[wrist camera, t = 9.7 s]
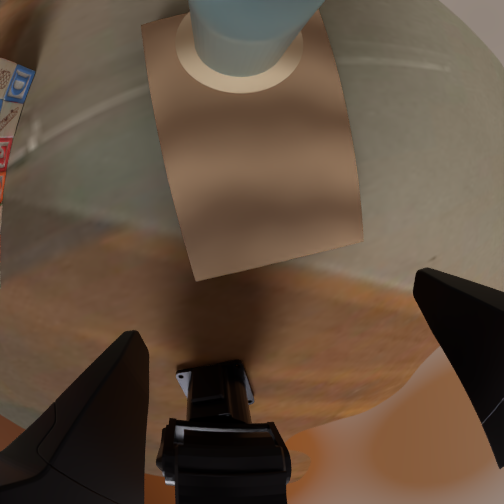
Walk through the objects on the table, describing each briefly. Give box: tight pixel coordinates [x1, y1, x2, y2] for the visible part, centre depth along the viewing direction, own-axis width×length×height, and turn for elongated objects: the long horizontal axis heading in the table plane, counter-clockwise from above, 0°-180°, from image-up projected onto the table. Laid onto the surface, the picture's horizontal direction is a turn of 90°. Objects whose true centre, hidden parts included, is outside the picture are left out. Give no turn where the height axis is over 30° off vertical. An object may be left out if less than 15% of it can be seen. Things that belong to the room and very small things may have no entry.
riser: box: [141, 9, 364, 282], centre depth 16 cm, size 19×12×3 cm, turn 11°
